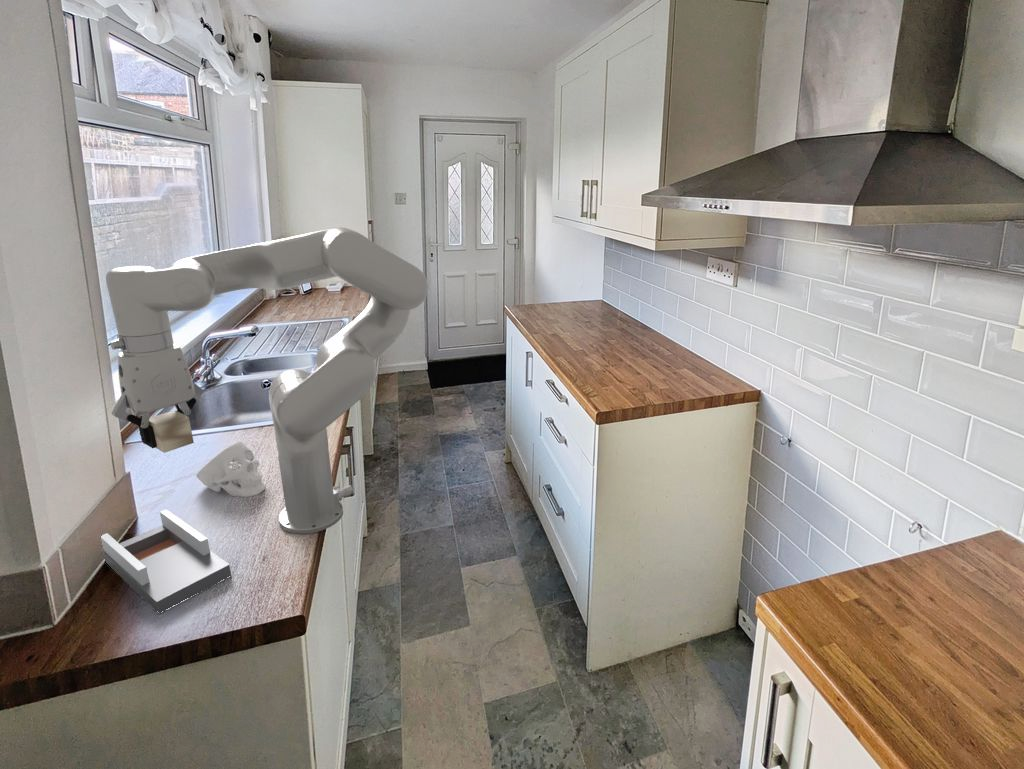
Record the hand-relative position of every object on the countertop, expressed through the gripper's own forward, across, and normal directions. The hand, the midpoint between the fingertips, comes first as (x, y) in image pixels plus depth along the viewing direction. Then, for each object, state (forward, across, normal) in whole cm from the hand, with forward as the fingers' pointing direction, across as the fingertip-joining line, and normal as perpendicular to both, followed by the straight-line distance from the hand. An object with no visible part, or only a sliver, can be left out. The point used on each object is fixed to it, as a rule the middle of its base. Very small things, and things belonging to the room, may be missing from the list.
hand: (168, 439), depth 104 cm
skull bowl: (+23, +17, +15) cm, 32 cm away
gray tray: (+22, -6, -4) cm, 23 cm away
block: (0, 0, -2) cm, 2 cm away
